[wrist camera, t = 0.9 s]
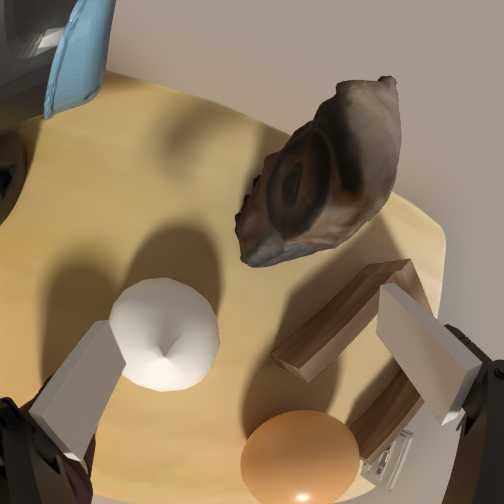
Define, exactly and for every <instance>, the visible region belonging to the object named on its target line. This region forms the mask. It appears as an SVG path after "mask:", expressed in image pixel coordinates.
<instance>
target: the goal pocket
mask: <svg viewBox="0 0 504 504" xmlns="http://www.w3.org/2000/svg"><path fill="white" fill-rule="evenodd" d="M393 282H394V283H395V284H396V285H397V286H399V287H400V288H401V289H402V290H403V291H405V292H406V293H407V294H408V295H409V296H411V297H412V298H413V299H414V300H415V301H416V302H418V303H419V304H420V305H421V306H422V307H423V308H424V309H426V310H427V311H428V312H429V313H430V314H431V315H432V316H433V313H432V311H431V308H430V305H429V302H428V300H427V297H426V294H425V292H424V289H423V287H422V284H421V282H420V279H419V277H418V275H417V272H416V270H415V268H414V265H413V263H412V261H411V259H405V260H398V261H391V262H384V263H377V264H370V265H367V266H366V267H365V268H364V269H363V270H362V271H361V272H360V273H359V274H358V275H357V276H356V277H355V278H354V279H353V280H352V281H351V282H350V283H349V284H348V285H347V286H346V287H345V288H344V289H343V290H342V291H341V292H340V293H339V294H338V295H337V296H336V297H335V298H334V299H332V300H331V301H330V302H329V303H328V304H327V305H326V306H325V307H324V308H323V309H322V310H321V311H319V312H318V313H317V314H316V315H315V316H314V317H313V318H312V319H311V320H309V321H308V322H307V323H306V324H305V325H304V326H303V327H301V328H300V329H299V330H298V331H297V332H296V333H295V334H293V335H292V336H291V337H290V338H289V339H287V340H286V341H285V342H284V343H283V344H281V345H280V346H279V347H278V348H277V349H275V350H274V351H273V352H272V353H271V354H270V355H271V356H272V358H273V359H274V360H275V362H276V363H277V364H278V366H279V367H281V368H283V369H285V370H286V371H288V372H290V373H292V374H293V375H295V376H297V377H299V378H301V379H302V380H304V381H306V382H308V383H310V382H311V381H312V380H313V379H314V378H315V377H316V376H317V375H318V374H319V373H320V372H322V371H323V370H324V369H325V368H326V367H327V366H328V365H329V364H330V363H331V362H332V361H333V360H334V359H335V358H336V357H337V356H338V355H339V354H340V353H341V352H342V351H343V350H344V349H345V348H346V347H347V346H348V345H349V344H350V343H351V342H352V341H353V340H354V339H355V338H356V337H357V336H358V335H359V333H360V332H361V331H362V330H363V329H364V328H365V327H366V326H367V325H368V324H369V323H370V321H371V320H372V319H373V318H374V317H375V316H376V315H377V313H378V310H379V297H380V285H384V284H389V283H393ZM433 317H434V316H433ZM424 402H425V401H424V400H423V398H422V397H421V395H420V394H419V392H418V391H417V390H416V388H415V387H414V385H413V384H412V382H411V381H410V379H409V378H408V377H407V375H406V374H405V372H404V371H403V370H401V371H400V372H399V374H398V375H397V376H396V377H395V379H394V380H393V381H392V382H391V384H390V385H389V386H388V387H387V388H386V390H385V391H384V392H383V393H382V394H381V395H380V397H379V398H378V399H377V400H376V401H375V402H374V403H373V404H372V406H371V407H370V408H369V409H368V410H367V411H366V412H365V413H364V414H363V415H362V416H361V417H360V418H359V419H358V420H357V421H356V422H355V423H354V424H353V425H352V426H351V427H350V428H349V430H350V431H351V432H352V434H353V435H354V437H355V439H356V441H357V444H358V447H359V455H360V459H361V460H363V461H364V462H366V463H368V464H369V465H372V464H373V463H374V462H375V460H376V459H377V458H378V457H379V456H380V455H381V454H382V453H383V452H384V451H385V450H386V449H387V448H388V447H389V446H390V444H391V443H392V442H393V441H394V440H395V439H396V438H397V436H398V435H399V434H400V433H401V432H402V431H403V429H404V428H405V427H406V426H407V424H408V423H409V422H410V421H411V419H412V418H413V417H414V415H415V414H416V413H417V412H418V410H419V409H420V408H421V406H422V405H423V403H424Z"/></svg>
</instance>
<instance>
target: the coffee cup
mask: <svg viewBox="0 0 504 504" xmlns="http://www.w3.org/2000/svg"><path fill="white" fill-rule="evenodd" d="M33 399H34V398H33ZM33 399H32V400H33ZM32 400H30V401H29V402H27V403H26V404H24V405H23V406H22V407H20V408H19V410H20V411H21V412H22V414H23V413H24V412H25V410H26V409H27V407H28V406H29V405H30V403H31V402H32ZM96 431H97V427H96V429H95V431H94V434H93V436H92V438H91V440H90V443H89V445H88V448H87V450H86V452H85V455H84V457H83V460H82V462H80V461H77V460H74V459H70V458H67V456H66V455H65V454H64V453H63V452H62V451H61V450H60V449H59V451H58V453H57V454H58V455H59V456H60V458H61V460H62V463H63V466H64V469H65V472H66V475H67V478H68V481H69V483H70V486H71V489H72V491H73V494H74V496H75V499H76V501H77V503H78V504H91V501H92V496H93V489H92V484H91V481H90V477H91V471H92V464H93V458H94V452H95V446H96V441H95V436H96ZM2 463H3V461H2V460H1V459H0V465H1V466H2Z"/></svg>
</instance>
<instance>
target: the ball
mask: <svg viewBox="0 0 504 504" xmlns="http://www.w3.org/2000/svg"><path fill="white" fill-rule="evenodd" d="M359 461H360V455H359V447H358V444H357V441H356V439H355V437H354V435H353V434H352V432H351V431H350V430H349V429H348V427H347V426H346V425H345V424H343V423H342V422H341V421H339V420H338V419H337V418H335V417H333V416H330V415H328V414H326V413H322V412H319V411H313V410H297V411H290V412H286V413H283V414H280V415H277V416H275V417H273V418H271V419H269V420H267V421H266V422H264V423H263V424H262V425H261V426H259V427H258V428H257V429H256V430H255V431H254V432H253V433H252V435H251V436H250V437H249V439H248V440H247V442H246V444H245V446H244V449H243V452H242V455H241V463H240V468H241V475H242V478H243V481H244V483H245V485H246V487H247V489H248V490H249V492H250V493H251V494H252V495H253V496H254V497H255V498H256V499H257V500H258V501H260V502H261V503H262V504H331V503H333V502H334V501H336V500H337V499H338V498H340V497H341V496H342V495H343V494H344V493H345V492H346V491H347V490H348V488H349V487H350V486H351V484H352V483H353V481H354V479H355V477H356V474H357V471H358V468H359Z"/></svg>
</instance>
